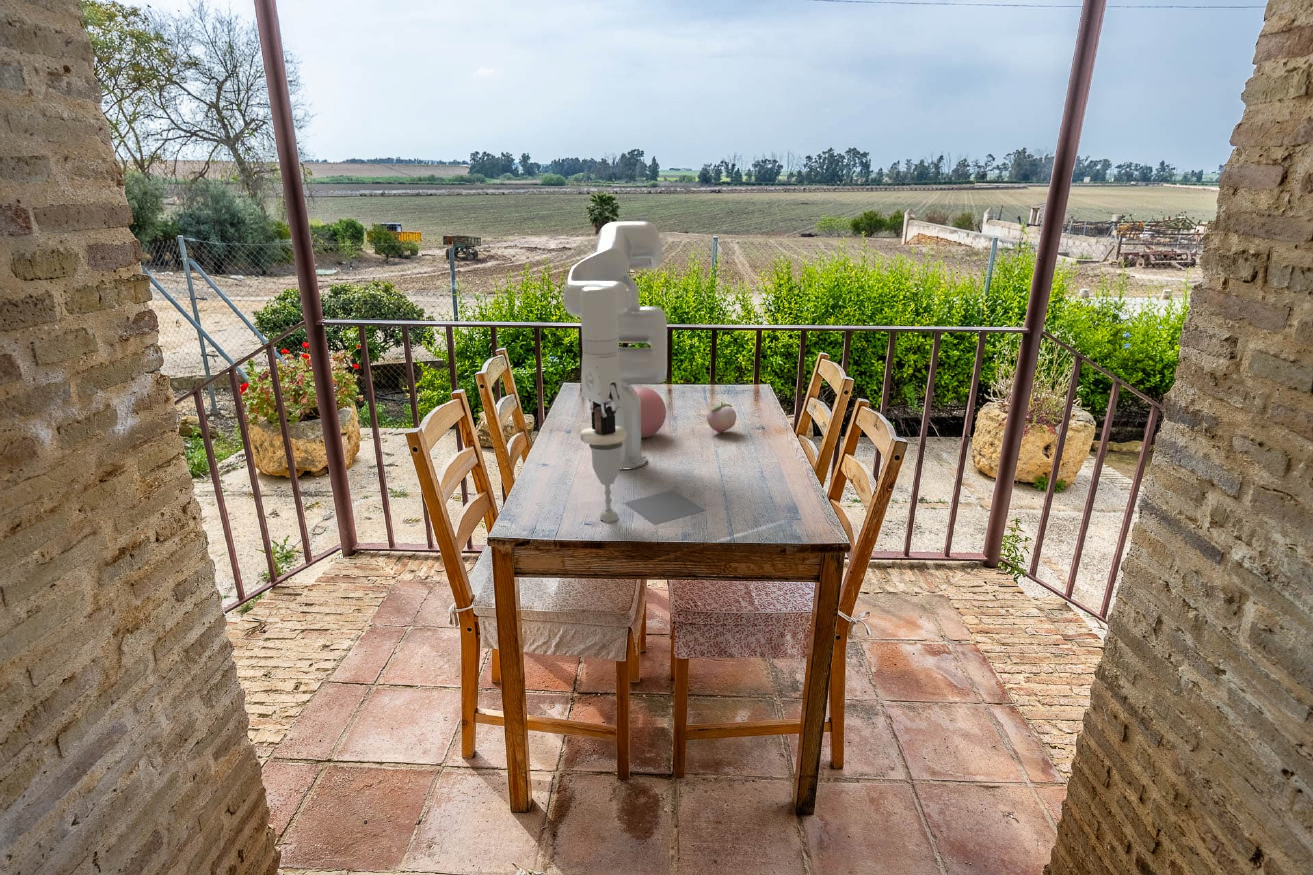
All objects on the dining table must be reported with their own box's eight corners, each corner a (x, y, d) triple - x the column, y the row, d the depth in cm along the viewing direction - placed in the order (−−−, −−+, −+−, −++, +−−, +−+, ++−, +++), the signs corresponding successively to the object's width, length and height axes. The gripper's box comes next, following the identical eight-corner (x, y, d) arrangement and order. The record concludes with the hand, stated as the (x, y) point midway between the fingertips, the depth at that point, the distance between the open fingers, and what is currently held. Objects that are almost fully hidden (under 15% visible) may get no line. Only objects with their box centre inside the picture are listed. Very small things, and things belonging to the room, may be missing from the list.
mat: (623, 504, 165) (623, 502, 165) (673, 492, 172) (673, 489, 171) (654, 527, 153) (654, 524, 153) (706, 512, 160) (706, 510, 160)
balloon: (669, 424, 223) (668, 377, 218) (664, 445, 204) (663, 394, 199) (621, 423, 224) (619, 377, 219) (611, 444, 206) (610, 394, 201)
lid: (572, 435, 152) (571, 407, 150) (613, 427, 157) (612, 400, 155) (593, 448, 144) (592, 418, 142) (635, 439, 149) (634, 410, 147)
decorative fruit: (725, 440, 208) (726, 407, 205) (702, 435, 213) (702, 403, 210) (741, 431, 215) (742, 400, 212) (719, 427, 220) (719, 396, 217)
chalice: (625, 513, 160) (623, 439, 155) (624, 526, 154) (622, 449, 148) (593, 514, 160) (589, 439, 154) (591, 527, 154) (588, 450, 148)
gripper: (567, 342, 149) (571, 424, 155) (602, 355, 136) (606, 444, 142) (598, 338, 153) (601, 418, 159) (636, 351, 140) (638, 438, 146)
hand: (603, 430), depth 150 cm, fingers closed on lid, 3 cm apart
